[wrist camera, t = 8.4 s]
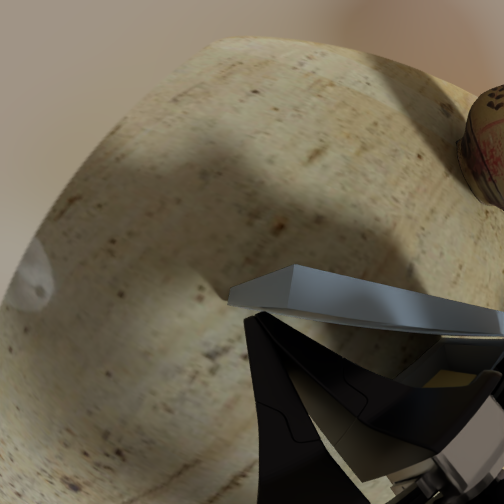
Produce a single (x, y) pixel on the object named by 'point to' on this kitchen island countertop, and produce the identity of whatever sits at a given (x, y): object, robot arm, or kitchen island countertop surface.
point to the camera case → (453, 363)
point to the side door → (362, 304)
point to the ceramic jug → (485, 148)
